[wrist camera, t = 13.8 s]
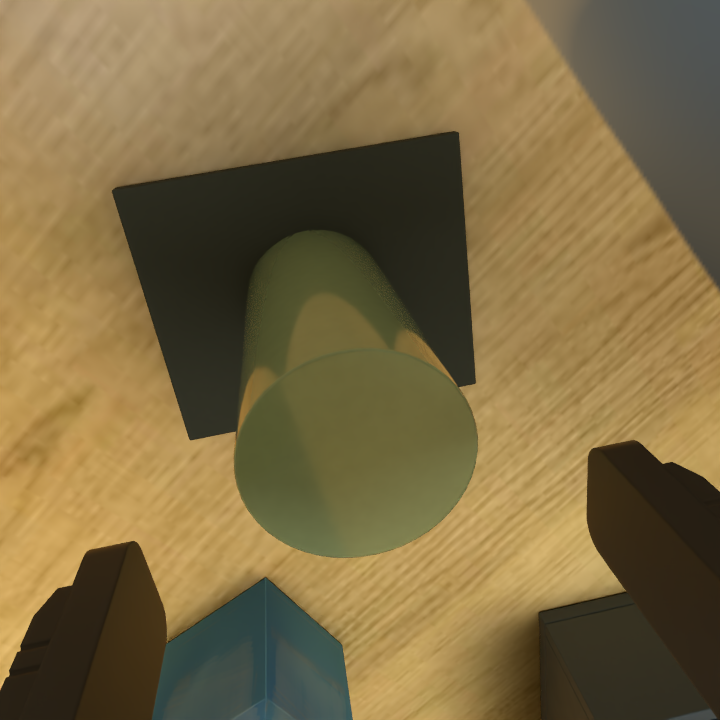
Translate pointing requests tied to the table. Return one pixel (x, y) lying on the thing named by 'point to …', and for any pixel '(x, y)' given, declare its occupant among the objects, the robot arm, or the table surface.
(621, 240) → the table surface
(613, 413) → the table surface
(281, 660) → the perfume bottle
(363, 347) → the pale green cylinder
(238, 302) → the mat
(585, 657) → the box
